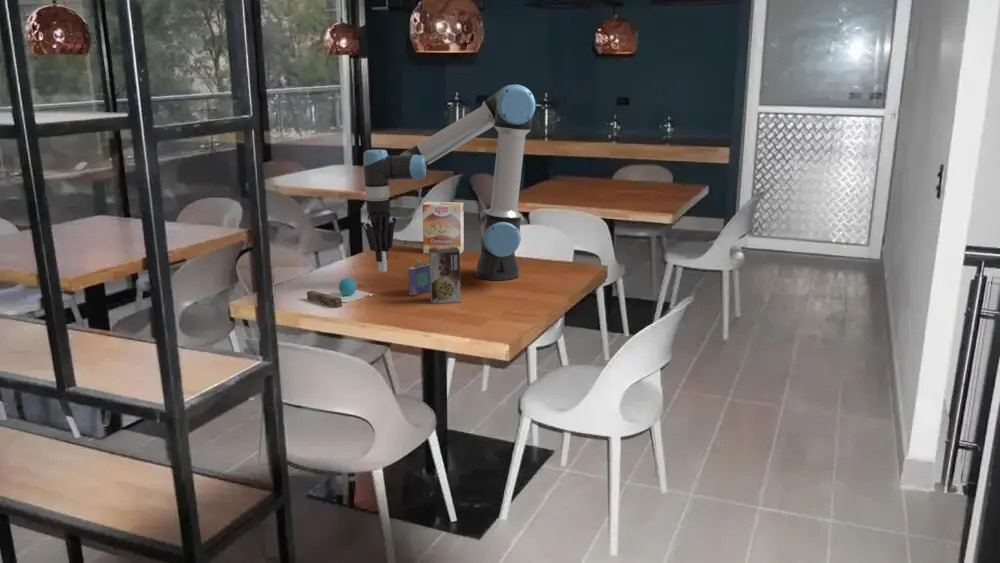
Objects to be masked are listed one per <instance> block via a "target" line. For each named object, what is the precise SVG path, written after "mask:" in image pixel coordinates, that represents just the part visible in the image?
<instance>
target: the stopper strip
mask: <svg viewBox="0 0 1000 563" xmlns="http://www.w3.org/2000/svg"><path fill="white" fill-rule="evenodd" d="M327 294H328V293H323V292H319V291H316V290H308V291H306V298H307V299H309V300H308V301H311V300H313V301H312V302H314V301H316V302H315V303H318V302H320V303H319V304H321V303H323V305H325V304H326V305H325V306H328V305H330V306H329V307H332V306H333V308H336V309H337V307H338V308H341V307H343V304H342V303H343V302H342V299H341V298H338V297H335V296H331V295H327Z"/></svg>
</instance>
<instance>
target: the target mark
mask: <svg viewBox="0 0 1000 563" xmlns="http://www.w3.org/2000/svg"><path fill="white" fill-rule="evenodd" d="M326 294H327V295H331V296H335V297H338V298H341V299H342V303H343V302H345V303H344V304H346V302H348V303H350V301H351V302H355V301H357V299H359V300H361V299H360V298H362V299H365V298H364V297H362V295H364V296H365V295H366V294H367V295H368V294H369V295H370V297H373V296H372V295H374V296H375V295H376V294H374V293H371V292H367V291H363V290H358V289H356V291H355V292H354V294H352V295H349V296H346V295H343V294H342V293H341V292H340V291H339V290H337V291H333V292H329V293H326ZM354 300H355V301H354Z"/></svg>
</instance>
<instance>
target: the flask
mask: <svg viewBox="0 0 1000 563" xmlns="http://www.w3.org/2000/svg"><path fill="white" fill-rule="evenodd" d="M427 293H430V270H429V262H423V263H422V261H421V260H419V259H417V260H416V265H415V266H411V267H408V296H410V297H417V296H419V295H424V294H427Z"/></svg>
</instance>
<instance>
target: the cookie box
mask: <svg viewBox="0 0 1000 563" xmlns="http://www.w3.org/2000/svg"><path fill="white" fill-rule="evenodd" d="M428 260H429V261H428V264H429V270H430V292H429V298H430V302H431V304H433V305H434V304H448V303H450V304H451V303H461V302H462V298H461V296H462V293H461V292H462V291H461V290H462V288H461V255H460V251H459V249H458V248H457V247H449V248H429V254H428Z"/></svg>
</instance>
